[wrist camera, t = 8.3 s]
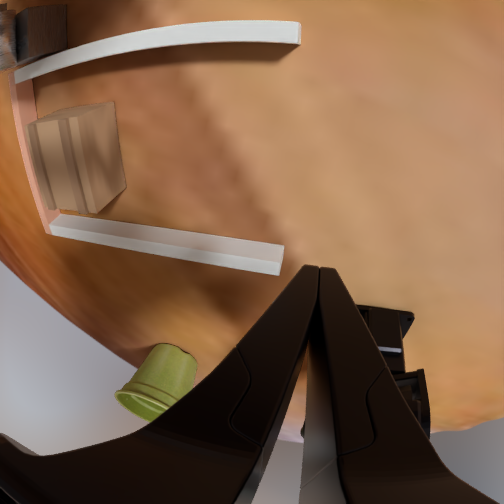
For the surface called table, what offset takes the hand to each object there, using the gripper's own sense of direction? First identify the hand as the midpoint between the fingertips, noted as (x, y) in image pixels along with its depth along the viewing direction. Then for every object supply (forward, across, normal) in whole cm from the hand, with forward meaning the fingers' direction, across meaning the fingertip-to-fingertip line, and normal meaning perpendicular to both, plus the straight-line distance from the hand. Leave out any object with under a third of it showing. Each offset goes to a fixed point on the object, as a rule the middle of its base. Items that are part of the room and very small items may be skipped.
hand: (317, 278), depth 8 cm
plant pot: (+12, +15, +28) cm, 33 cm away
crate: (+12, +18, 0) cm, 21 cm away
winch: (+12, +21, -12) cm, 27 cm away
